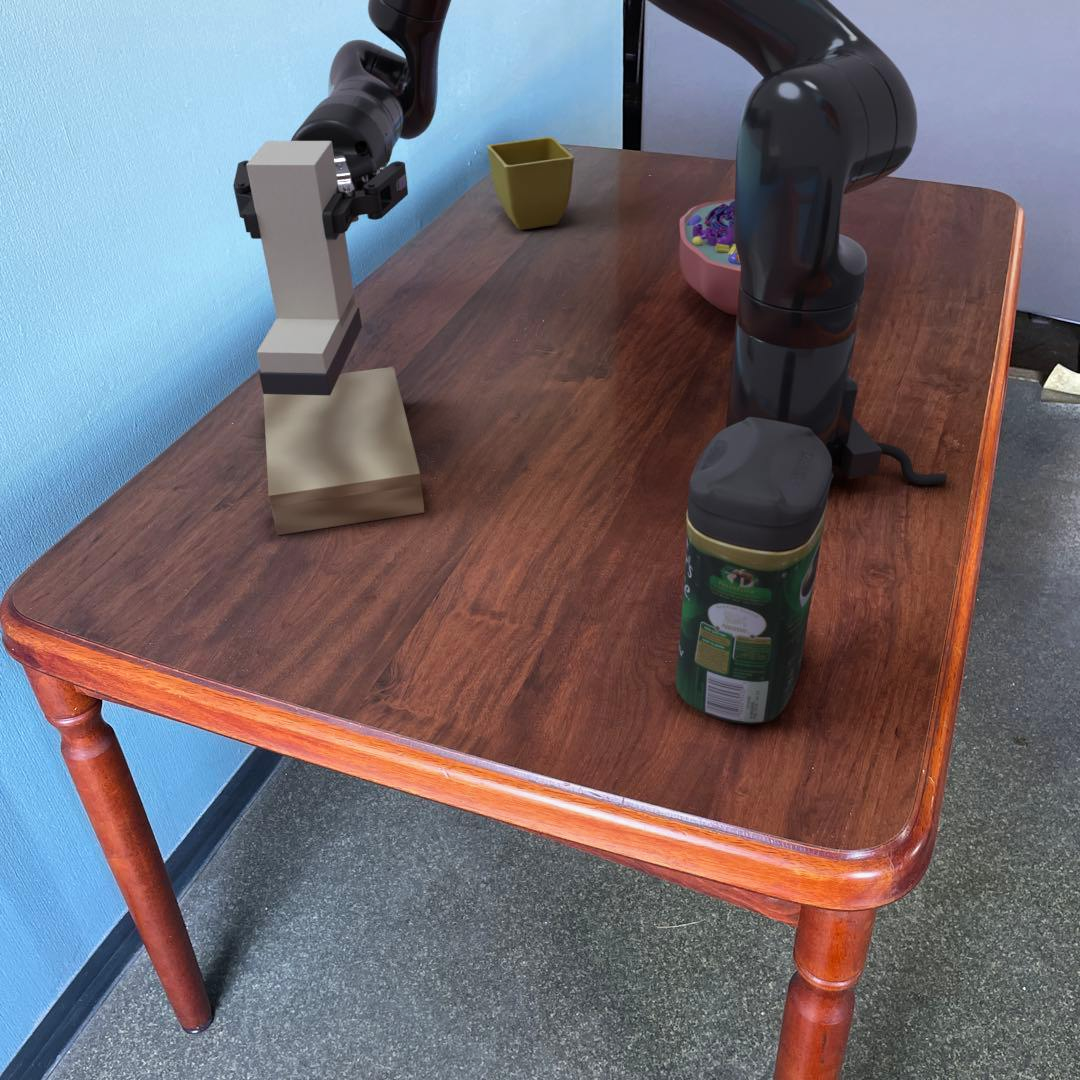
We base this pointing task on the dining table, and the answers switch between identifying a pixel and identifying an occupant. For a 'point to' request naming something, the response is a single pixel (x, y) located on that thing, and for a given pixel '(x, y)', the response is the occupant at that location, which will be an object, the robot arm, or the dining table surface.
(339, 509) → the tan flat block
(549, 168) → the flower pot
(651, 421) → the dining table surface
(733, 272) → the cell model
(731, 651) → the coffee jar
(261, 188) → the boot
